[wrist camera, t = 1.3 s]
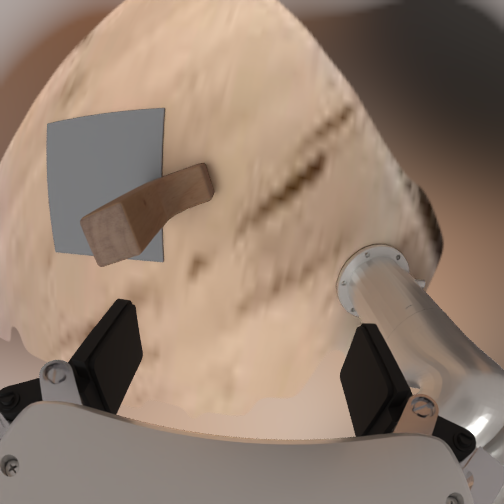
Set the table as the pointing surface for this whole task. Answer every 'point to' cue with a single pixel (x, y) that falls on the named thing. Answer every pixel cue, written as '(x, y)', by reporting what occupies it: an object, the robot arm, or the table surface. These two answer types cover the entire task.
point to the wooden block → (143, 213)
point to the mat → (100, 170)
